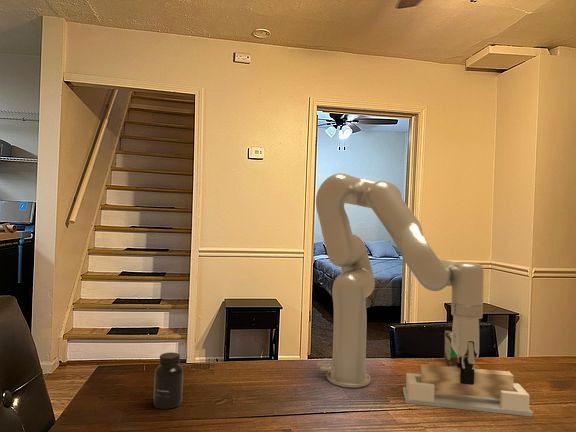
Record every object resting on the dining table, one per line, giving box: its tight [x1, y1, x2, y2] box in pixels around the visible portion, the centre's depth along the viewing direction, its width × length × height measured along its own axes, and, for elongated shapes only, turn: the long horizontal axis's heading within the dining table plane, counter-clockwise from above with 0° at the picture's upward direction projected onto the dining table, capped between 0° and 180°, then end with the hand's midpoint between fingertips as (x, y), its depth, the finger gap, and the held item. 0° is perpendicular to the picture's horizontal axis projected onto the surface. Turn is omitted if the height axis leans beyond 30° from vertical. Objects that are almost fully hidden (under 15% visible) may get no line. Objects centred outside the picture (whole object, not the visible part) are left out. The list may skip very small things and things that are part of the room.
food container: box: [444, 330, 460, 367], centre depth 135 cm, size 12×6×10 cm, turn 168°
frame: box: [402, 372, 534, 418], centre depth 109 cm, size 30×8×5 cm, turn 79°
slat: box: [420, 364, 515, 398], centre depth 109 cm, size 22×3×6 cm, turn 80°
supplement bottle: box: [153, 352, 184, 410], centre depth 103 cm, size 7×7×12 cm
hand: (465, 380), depth 109 cm, fingers closed on slat, 3 cm apart
